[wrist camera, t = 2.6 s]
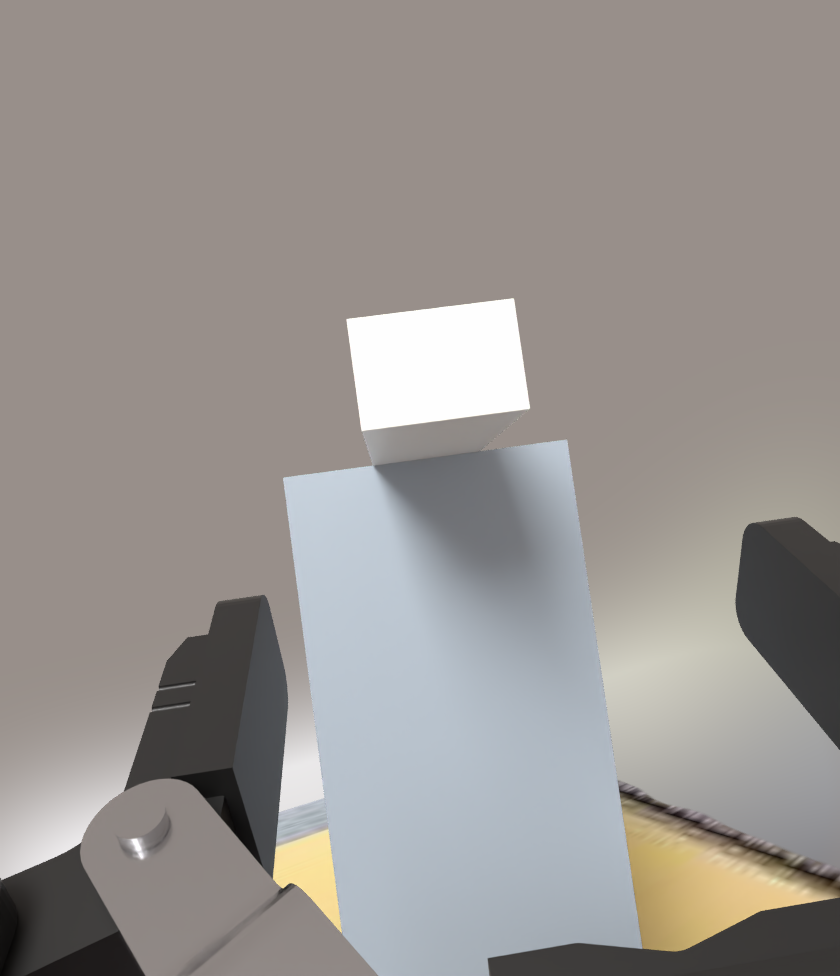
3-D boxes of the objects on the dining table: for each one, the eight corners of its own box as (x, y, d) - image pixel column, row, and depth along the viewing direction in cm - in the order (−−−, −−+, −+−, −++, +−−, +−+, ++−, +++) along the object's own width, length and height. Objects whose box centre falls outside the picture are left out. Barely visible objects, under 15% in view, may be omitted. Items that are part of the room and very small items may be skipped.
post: (693, 1231, 28) (575, 437, 30) (379, 1290, 28) (274, 478, 29) (582, 970, 45) (510, 468, 46) (384, 1003, 44) (317, 495, 46)
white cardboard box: (529, 408, 19) (497, 182, 19) (361, 430, 19) (330, 202, 19) (450, 475, 45) (436, 379, 45) (379, 485, 45) (366, 388, 45)
